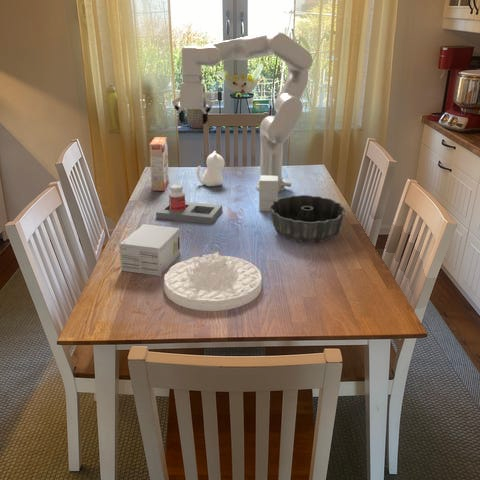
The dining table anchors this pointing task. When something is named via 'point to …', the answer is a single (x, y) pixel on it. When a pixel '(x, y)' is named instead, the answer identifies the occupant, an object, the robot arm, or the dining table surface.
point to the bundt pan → (307, 218)
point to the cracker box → (159, 163)
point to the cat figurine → (212, 170)
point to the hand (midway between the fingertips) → (193, 122)
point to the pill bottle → (177, 198)
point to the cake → (212, 282)
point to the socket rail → (191, 213)
